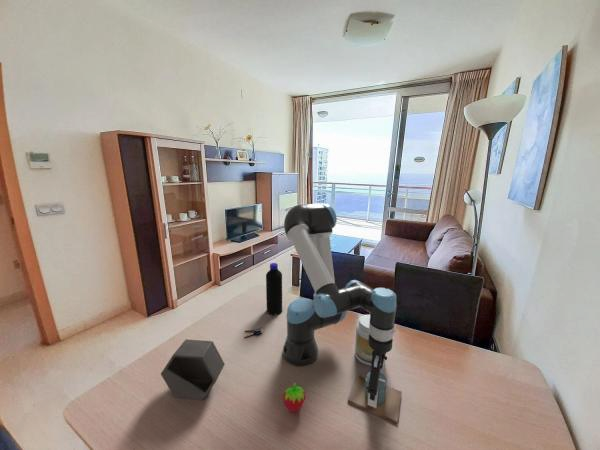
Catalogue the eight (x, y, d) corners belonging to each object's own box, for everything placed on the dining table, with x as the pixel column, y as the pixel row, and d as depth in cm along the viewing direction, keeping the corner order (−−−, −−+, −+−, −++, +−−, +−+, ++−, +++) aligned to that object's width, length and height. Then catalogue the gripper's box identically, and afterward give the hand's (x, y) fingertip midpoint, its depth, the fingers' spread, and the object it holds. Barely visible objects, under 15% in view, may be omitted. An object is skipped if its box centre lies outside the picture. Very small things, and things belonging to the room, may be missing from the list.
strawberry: (282, 402, 83) (282, 377, 81) (303, 400, 84) (304, 376, 81) (283, 419, 77) (283, 393, 75) (306, 417, 78) (306, 391, 76)
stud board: (347, 402, 83) (348, 388, 82) (356, 376, 94) (357, 364, 92) (397, 424, 76) (399, 410, 75) (401, 394, 86) (402, 381, 85)
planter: (153, 384, 84) (180, 343, 79) (167, 367, 91) (192, 328, 86) (195, 410, 84) (223, 370, 80) (205, 390, 92) (232, 353, 87)
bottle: (279, 316, 132) (279, 268, 126) (264, 314, 134) (263, 266, 128) (284, 307, 141) (283, 262, 135) (269, 305, 142) (268, 260, 136)
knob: (363, 399, 83) (364, 381, 82) (367, 384, 89) (369, 367, 87) (383, 407, 80) (385, 389, 79) (386, 392, 86) (388, 374, 84)
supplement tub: (388, 366, 98) (392, 330, 95) (359, 368, 98) (362, 331, 94) (377, 345, 110) (380, 312, 107) (351, 346, 109) (353, 313, 106)
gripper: (387, 365, 67) (381, 427, 71) (397, 318, 88) (392, 368, 93) (360, 355, 70) (355, 415, 75) (376, 313, 92) (372, 361, 96)
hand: (376, 389), depth 84 cm, fingers open, 13 cm apart
